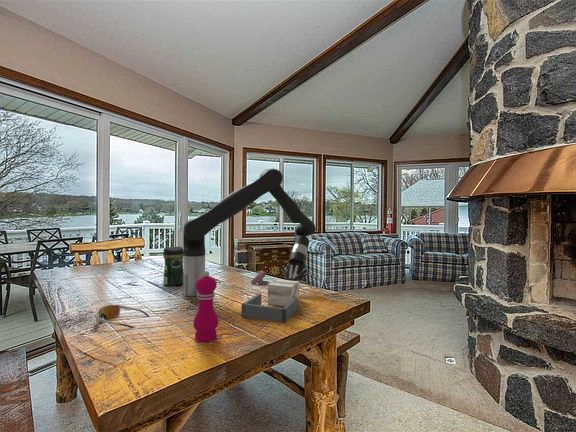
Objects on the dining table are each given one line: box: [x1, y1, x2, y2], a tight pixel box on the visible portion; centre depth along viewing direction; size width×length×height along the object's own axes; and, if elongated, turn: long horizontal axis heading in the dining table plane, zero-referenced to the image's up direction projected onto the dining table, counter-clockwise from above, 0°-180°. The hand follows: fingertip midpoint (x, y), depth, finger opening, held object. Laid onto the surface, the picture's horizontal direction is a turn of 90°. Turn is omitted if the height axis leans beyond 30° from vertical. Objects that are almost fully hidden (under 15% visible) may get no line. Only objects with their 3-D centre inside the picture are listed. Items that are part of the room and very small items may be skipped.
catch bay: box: [240, 293, 299, 323], centre depth 119 cm, size 15×16×4 cm
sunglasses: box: [96, 303, 151, 329], centre depth 109 cm, size 14×15×5 cm
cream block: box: [267, 278, 300, 307], centre depth 133 cm, size 10×10×8 cm
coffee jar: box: [162, 246, 184, 287], centre depth 160 cm, size 10×8×19 cm
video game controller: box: [250, 270, 267, 285], centre depth 167 cm, size 10×5×7 cm, turn 169°
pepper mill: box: [193, 270, 219, 343], centre depth 96 cm, size 7×7×20 cm
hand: (290, 287), depth 142 cm, fingers closed
